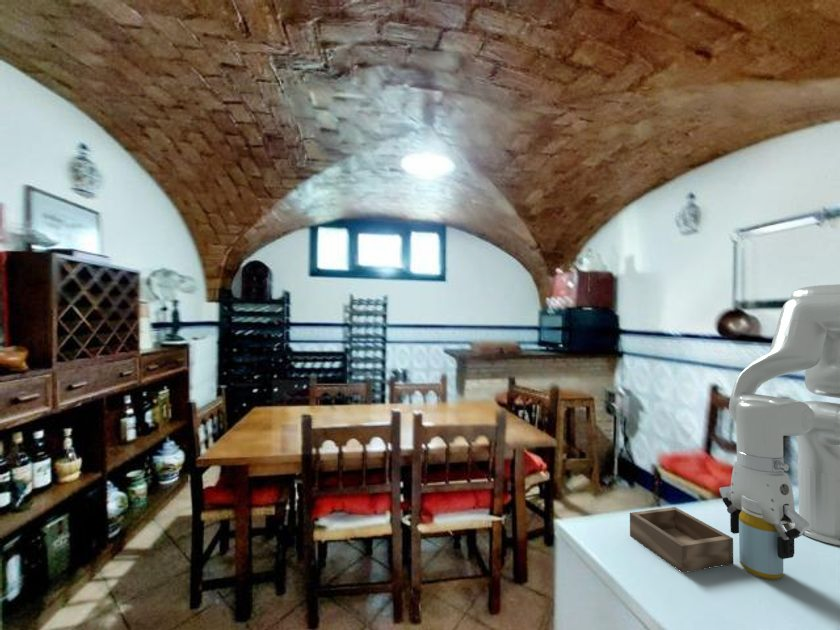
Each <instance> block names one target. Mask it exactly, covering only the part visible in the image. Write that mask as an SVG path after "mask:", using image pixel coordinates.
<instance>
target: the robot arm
mask: <svg viewBox="0 0 840 630" xmlns="http://www.w3.org/2000/svg"><path fill="white" fill-rule="evenodd" d="M779 314H780V315H779V318H778V321H777V325H776V329H775V332H774V334H773V339H772V340H771V341H772V342H771V346H770V349H769V350H768V352H767V353H765V354H764V355H762V356H759V357H758V358H757V359H756V360H753V362H751V363H750V364H749V365H748V366H746V367H745V368H744V369H743V370H742V371H741V372H740V373H739V375H738V376H737V377H736V379H735V382H734V386H733V389H732V391H731V395H730V398H729V404H728V412H729V413H728V414H729V417H730V418H731V420H732V421H733V422H735V423H736V424H735V425H736V461H735V462H734V463H733V464H734V465H733V468H732V473H731V478H730V479H731V480H730V485H729V486H723V487H722V486H721V487H719V488H718V489H719V493H720V496H721V497H722V502H723V504H724V505H725V507H726V508H727V509H726V511H727V513H728V514H730V515H729V517H730V519H729V520H730V521H729V523H730V524H729V525H730V533H732V534H734V535H735V534H739V514H740V512H741V510H742V507H743V506H742V504H741V499H742V495H743V496H745V497H746V498H748V499H751V500H753V501H757V502H759V503H760V507H761V510H762V514H761V515H762V516H763V520H764V521H766V522H768V523H770V524H772V525H774V526H775V528H776V530H777V531H778V533H779V534H780V536H781V537H778V538H777V547H778V557H779V558H781V559H783V560H785V559H792V558H793V557H794V556H795V539H798V538H800V537H802V536H803V535H804V536H806V537H808V538H811V539H813V540H816V541H820V542H823V543H826V544H830V545H835V546H840V403H838V402H837V403H836V402H828V401H821V400H808V401H801V400H797V399H793V398H787V397H785V398H784V397H778V396H771V395H765V394H757V393H756V392H757V390H758V389H759V388H760V387H761V386H762V385H763V384H765V383H766V382H768V381H770V380H772V379H775V378H777V377H781V376H785V375H789V374H793V373H796V372H797V373H798V372H801V371H802V372H803V371H804V385H805V387H806V389H807V390H808V392H810V393H812V394H814V395H818V396H822V397H829V398H836V399H840V284H839V283H838V284H822V285H811V286H810V285H809V286H804V287H800V288H798V289H795V290H794V291H793V292H792V293H791V295H790V299H788V300H787V301H785V302H784V304H783V306H782V309H781V311H780V313H779ZM785 436H787V437H790V436H791V437H796V441H797V443H796V444H797V456H798V457H797V461H798V465H797V466H798V469H797V470H798V477H797V478H798V512H797V511H796V508H795V498H794V492H793V491H794V490H793V487H792V486H793V485H792V482H791V478H790V476H789V474H788V473H787V472H788V471H789V469H790V465H789V464H787V463H785V461H784V460H785V459H784V458H785V457H784V437H785ZM780 520H781V521H780ZM782 525H783V526H782Z"/></svg>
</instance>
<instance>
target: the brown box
mask: <svg viewBox="0 0 840 630" xmlns="http://www.w3.org/2000/svg"><path fill="white" fill-rule="evenodd" d="M629 536H630V537H631V538H632V539H634V540H635V541H637V542H638V543H639V544H641V545H642V544H643V546H644V547H645V546H646V547H645V548H647V549H648V548H649V549H650V550H649V549H648V550H649V551H651V552H652V551H653V552H654V553H653V552H652V553H653V554H655V553H656V554H657V555H656V554H655V555H656V556H658V557H659V556H660V557H661V558H660V557H659V558H660V559H662V560H663V559H664V561H665V562H666V563H667V564H668V565H670V564H671V565H670V566H672V567H673V566H674V567H676V568H677V569H678V570H677V569H676V568H675V569H676V570H677V571H679V570H680V571H681V572H685V573H688V572H687V571H691V572H695V571H694V570H697V571H700V570H699V569H703V570H705V569H704V568H708V569H710V568H709V567H714V566H720V567H722V566H721V565H726V566H729V565H728V564H732V565H734V537H732V536H730V535H728V534H726V533H724V532H722V531H720V530H719V529H717V528H714V527H713V526H711V525H710V524H707V523H706V522H704V521H702V520H700V519H698V518H696V517H695V516H692V515H691V514H689V513H687V512H685V511H683V510H682V509H680V508H678V507H676V506H673V507H665V508H657V509H648V510H640V511H633V512H629ZM674 567H673V568H674ZM714 568H715V567H714ZM680 571H679V572H680ZM681 572H680V573H681Z"/></svg>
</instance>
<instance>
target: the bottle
mask: <svg viewBox="0 0 840 630" xmlns="http://www.w3.org/2000/svg"><path fill="white" fill-rule="evenodd" d="M741 504H742V506H743V507H742V510H741V512H740V514H739V533H738V540H739V541H738V545H739V547H738V548H739V549H738V552H739V553H738V554H739V556H738V558H739V563H740V565H741V567H744V568H743V569H744V570H745V569H746V570H747V572H748V573H749V572H750V574H751V573H752V575H753V574H754V575H753V576H755V575H756V576H755V577H758V576H759V577H758V578H761V577H762V579H765V578H767V579H766V580H772V579H773V580H778V579H780V578H782V577H783V576H784V559H781V558H779V557H778V547H777V538H778V537H781V536H780V534H779V533H778V531H777V530H776V528H775V526H774V525H772V524H770V523H768V522H766V521H764V520H763V516H762V515H761V514H762V510H761V507H760V503H759V502H757V501H753V500H751V499H748V498H746V497H745V496H743V495H742V499H741ZM780 521H781V520H780ZM782 526H783V525H782ZM783 527H784V526H783ZM746 570H745V571H746Z"/></svg>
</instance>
